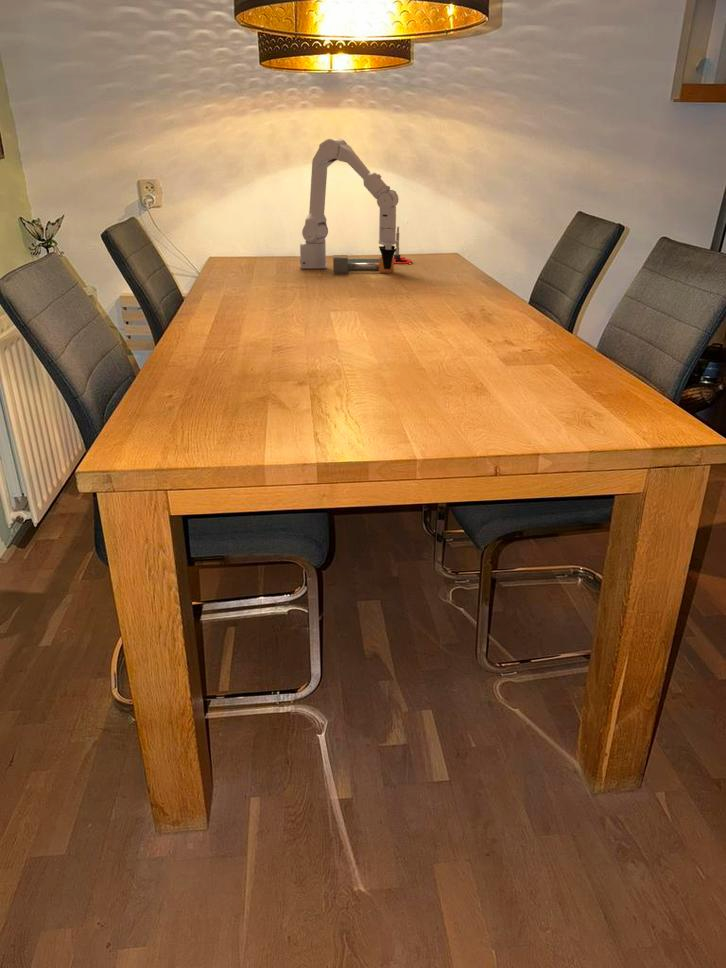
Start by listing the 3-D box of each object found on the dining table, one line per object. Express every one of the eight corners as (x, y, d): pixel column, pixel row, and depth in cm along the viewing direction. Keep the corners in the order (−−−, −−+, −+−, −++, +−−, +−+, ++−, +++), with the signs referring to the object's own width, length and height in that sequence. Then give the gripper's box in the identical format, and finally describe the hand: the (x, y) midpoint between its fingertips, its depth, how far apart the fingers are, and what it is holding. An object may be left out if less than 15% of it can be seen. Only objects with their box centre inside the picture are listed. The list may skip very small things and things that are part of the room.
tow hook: (415, 265, 280) (406, 260, 288) (417, 229, 274) (407, 225, 282) (395, 266, 278) (386, 261, 285) (396, 230, 272) (386, 226, 279)
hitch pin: (351, 273, 262) (351, 258, 259) (350, 271, 265) (350, 256, 263) (393, 272, 262) (393, 258, 260) (392, 271, 265) (393, 256, 263)
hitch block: (333, 273, 260) (333, 258, 257) (333, 270, 266) (333, 255, 264) (347, 273, 260) (347, 258, 258) (347, 270, 266) (347, 255, 264)
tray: (335, 270, 267) (334, 263, 266) (335, 265, 277) (335, 258, 275) (390, 270, 267) (390, 263, 266) (388, 265, 277) (388, 258, 276)
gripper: (400, 230, 251) (399, 271, 256) (397, 225, 264) (396, 264, 270) (379, 230, 250) (379, 271, 256) (377, 225, 264) (377, 264, 269)
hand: (386, 268), depth 263 cm, fingers closed on hitch pin, 4 cm apart
